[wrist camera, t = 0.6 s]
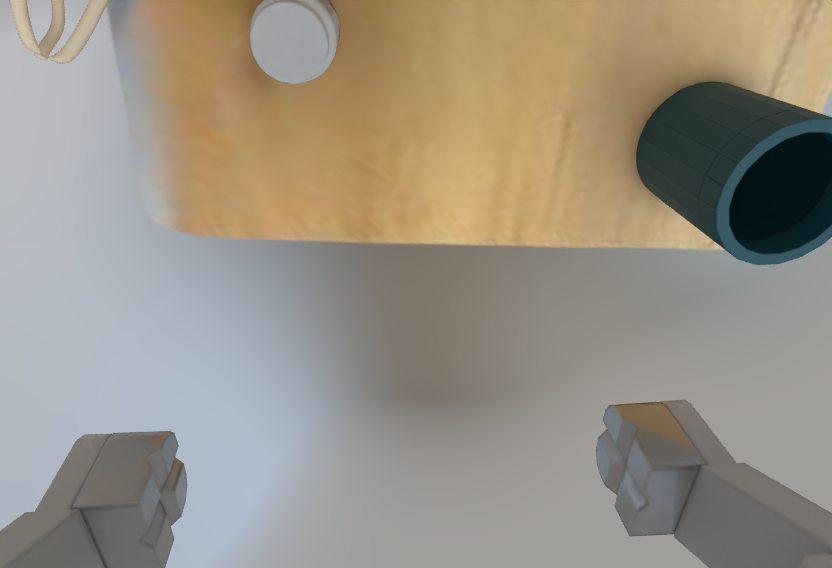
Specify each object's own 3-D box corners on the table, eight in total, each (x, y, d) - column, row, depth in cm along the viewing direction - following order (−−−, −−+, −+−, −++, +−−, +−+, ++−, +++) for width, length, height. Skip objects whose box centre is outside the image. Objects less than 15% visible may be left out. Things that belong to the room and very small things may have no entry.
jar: (651, 81, 40) (744, 118, 30) (771, 81, 41) (898, 117, 31) (625, 202, 44) (698, 267, 35) (733, 199, 45) (834, 262, 36)
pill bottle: (252, -3, 35) (225, 7, 28) (325, -25, 35) (317, -22, 27) (281, 74, 37) (263, 102, 30) (349, 54, 37) (348, 77, 30)
